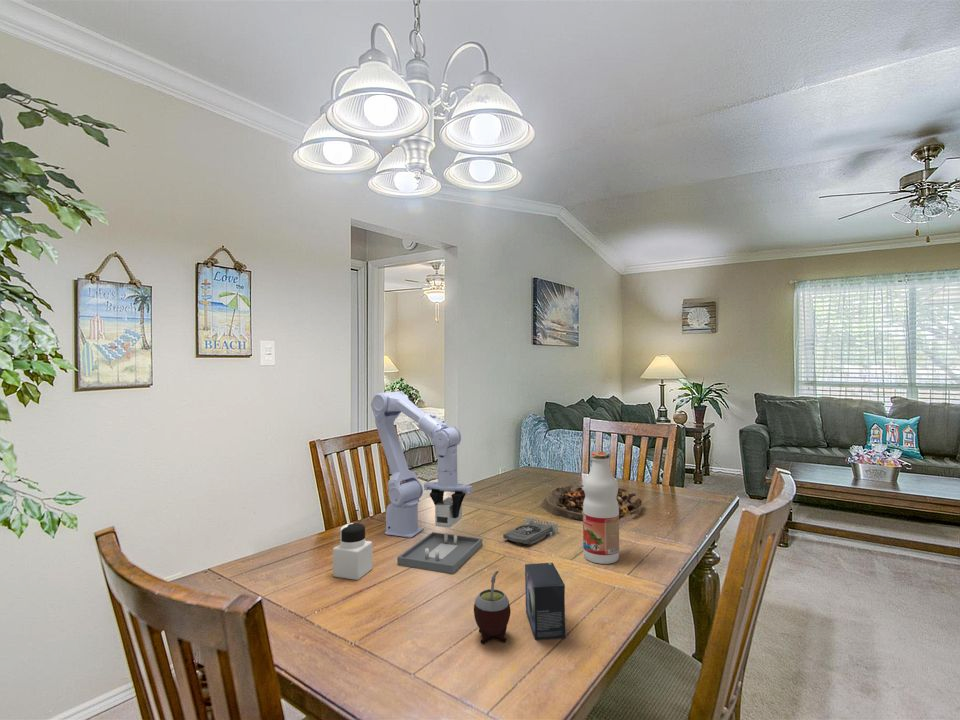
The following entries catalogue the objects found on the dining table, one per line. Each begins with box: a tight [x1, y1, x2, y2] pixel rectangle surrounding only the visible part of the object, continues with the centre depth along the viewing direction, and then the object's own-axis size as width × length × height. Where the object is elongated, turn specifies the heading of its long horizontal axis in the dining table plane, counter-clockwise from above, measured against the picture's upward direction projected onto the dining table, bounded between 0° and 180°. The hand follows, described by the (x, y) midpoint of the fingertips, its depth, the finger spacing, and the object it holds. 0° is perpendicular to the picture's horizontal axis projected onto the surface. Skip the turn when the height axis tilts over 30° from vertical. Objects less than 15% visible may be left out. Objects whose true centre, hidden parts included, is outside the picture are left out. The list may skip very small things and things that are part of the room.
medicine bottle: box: [332, 522, 374, 581], centre depth 125 cm, size 7×7×12 cm
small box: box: [524, 562, 567, 641], centre depth 100 cm, size 11×6×10 cm, turn 5°
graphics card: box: [502, 516, 559, 546], centre depth 150 cm, size 17×4×12 cm
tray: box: [396, 531, 483, 575], centre depth 136 cm, size 16×20×4 cm
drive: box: [434, 496, 463, 529], centre depth 145 cm, size 4×9×6 cm, turn 159°
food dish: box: [540, 484, 643, 521], centre depth 178 cm, size 35×33×8 cm
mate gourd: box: [473, 570, 511, 645], centre depth 96 cm, size 8×8×15 cm
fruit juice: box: [582, 451, 620, 565], centre depth 133 cm, size 9×9×28 cm
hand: (448, 516), depth 144 cm, fingers closed on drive, 4 cm apart
